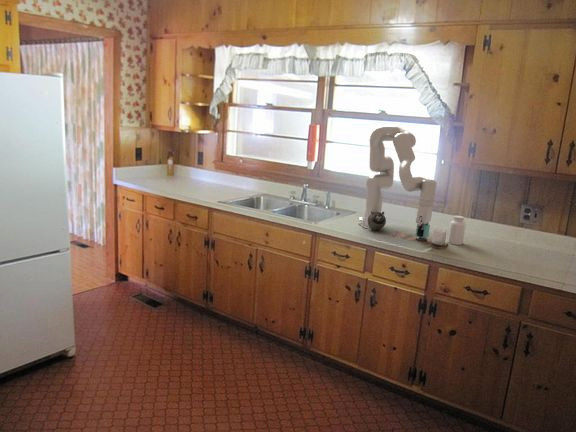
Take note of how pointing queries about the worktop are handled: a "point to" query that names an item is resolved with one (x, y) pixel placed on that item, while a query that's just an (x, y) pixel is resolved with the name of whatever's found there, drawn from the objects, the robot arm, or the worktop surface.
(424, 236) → the matte teal square block
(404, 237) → the board
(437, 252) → the worktop surface
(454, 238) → the pill bottle
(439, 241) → the pale wooden cube
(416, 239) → the dark grey knobbed dome
